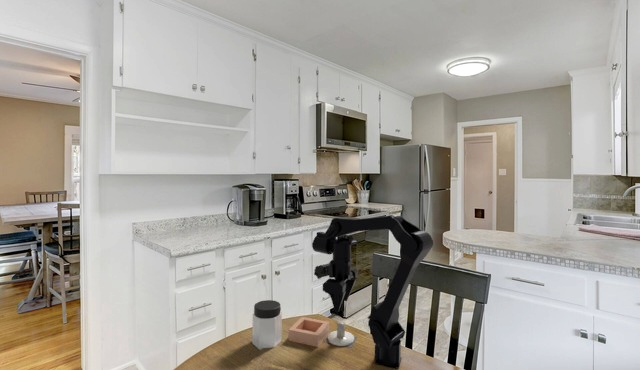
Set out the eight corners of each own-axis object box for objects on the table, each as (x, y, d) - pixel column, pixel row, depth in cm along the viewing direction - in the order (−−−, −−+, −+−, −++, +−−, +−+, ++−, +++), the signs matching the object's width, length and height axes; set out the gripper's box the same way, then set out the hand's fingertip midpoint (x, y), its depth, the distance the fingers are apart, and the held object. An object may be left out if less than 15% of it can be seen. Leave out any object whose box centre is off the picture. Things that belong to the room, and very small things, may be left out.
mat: (357, 338, 103) (357, 336, 103) (351, 349, 96) (351, 347, 96) (331, 333, 106) (331, 331, 106) (323, 343, 99) (323, 341, 99)
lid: (357, 335, 103) (357, 320, 103) (349, 348, 96) (350, 331, 95) (332, 330, 106) (332, 315, 106) (323, 342, 99) (324, 326, 98)
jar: (285, 344, 98) (286, 306, 98) (262, 353, 93) (263, 313, 93) (271, 333, 105) (271, 297, 105) (248, 341, 100) (248, 303, 100)
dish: (329, 333, 106) (329, 321, 105) (318, 348, 96) (318, 335, 96) (301, 328, 109) (301, 316, 109) (288, 342, 100) (288, 329, 100)
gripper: (327, 248, 112) (327, 292, 112) (306, 261, 95) (306, 313, 95) (358, 251, 108) (358, 297, 108) (342, 265, 91) (341, 319, 91)
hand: (341, 305), depth 101 cm, fingers open, 9 cm apart
